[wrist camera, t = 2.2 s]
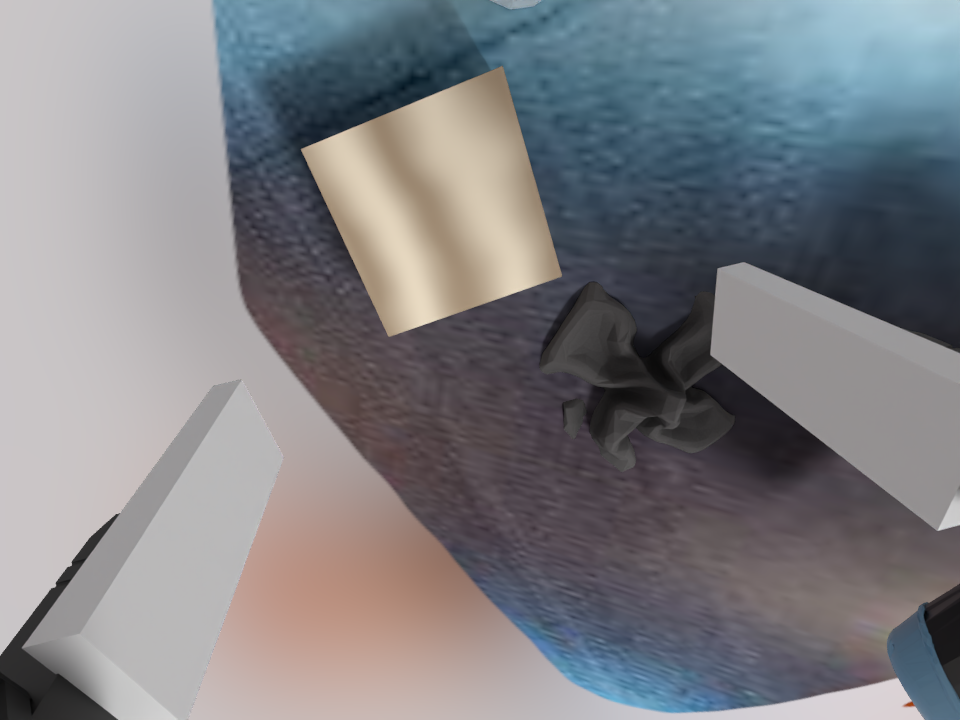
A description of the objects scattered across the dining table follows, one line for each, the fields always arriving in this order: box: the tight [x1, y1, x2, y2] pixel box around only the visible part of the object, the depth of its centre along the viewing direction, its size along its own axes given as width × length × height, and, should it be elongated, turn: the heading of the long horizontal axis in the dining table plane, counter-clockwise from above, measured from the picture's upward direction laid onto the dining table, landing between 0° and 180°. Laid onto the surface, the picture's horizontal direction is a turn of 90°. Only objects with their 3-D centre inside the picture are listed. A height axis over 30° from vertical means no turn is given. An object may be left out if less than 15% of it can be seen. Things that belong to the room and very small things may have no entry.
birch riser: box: [301, 66, 562, 337], centre depth 31 cm, size 13×13×5 cm
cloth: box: [539, 282, 735, 472], centre depth 38 cm, size 22×19×6 cm
